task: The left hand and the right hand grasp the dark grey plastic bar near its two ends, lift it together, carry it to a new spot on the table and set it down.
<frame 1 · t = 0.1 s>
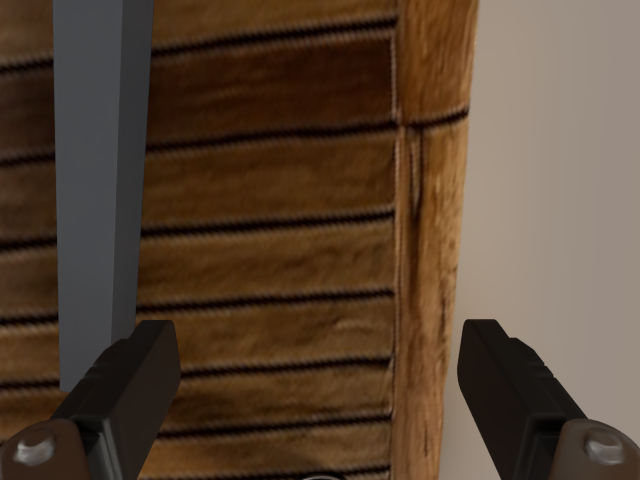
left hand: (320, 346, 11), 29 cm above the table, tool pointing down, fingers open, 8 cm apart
bar: (123, 27, 35), on the table
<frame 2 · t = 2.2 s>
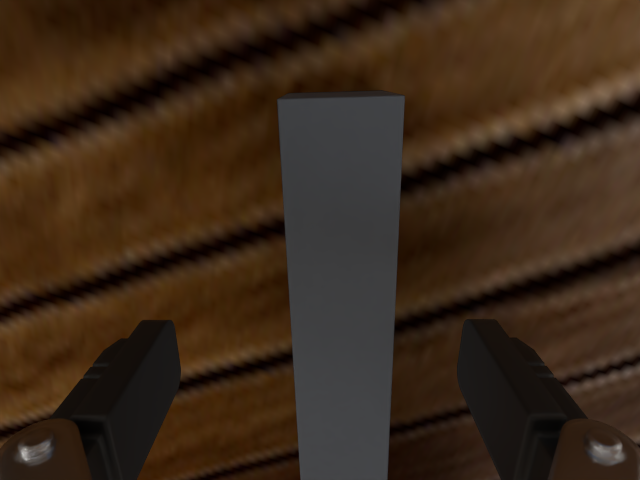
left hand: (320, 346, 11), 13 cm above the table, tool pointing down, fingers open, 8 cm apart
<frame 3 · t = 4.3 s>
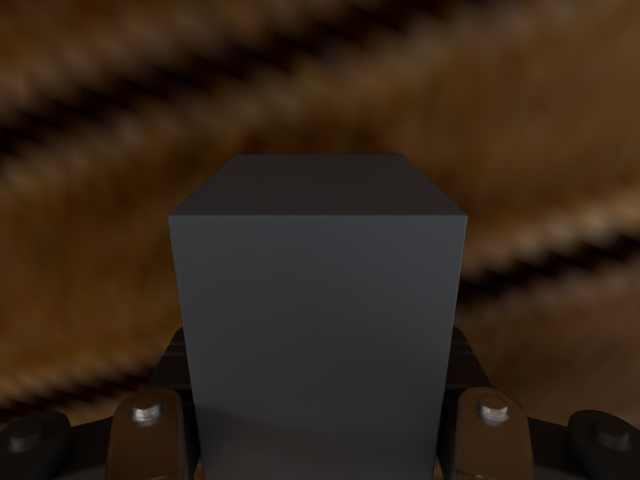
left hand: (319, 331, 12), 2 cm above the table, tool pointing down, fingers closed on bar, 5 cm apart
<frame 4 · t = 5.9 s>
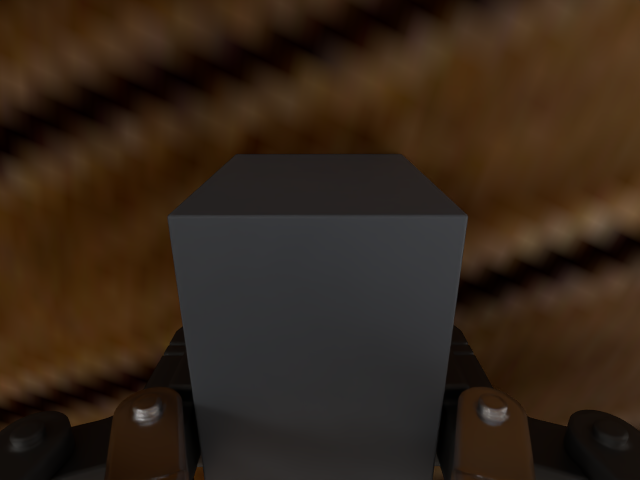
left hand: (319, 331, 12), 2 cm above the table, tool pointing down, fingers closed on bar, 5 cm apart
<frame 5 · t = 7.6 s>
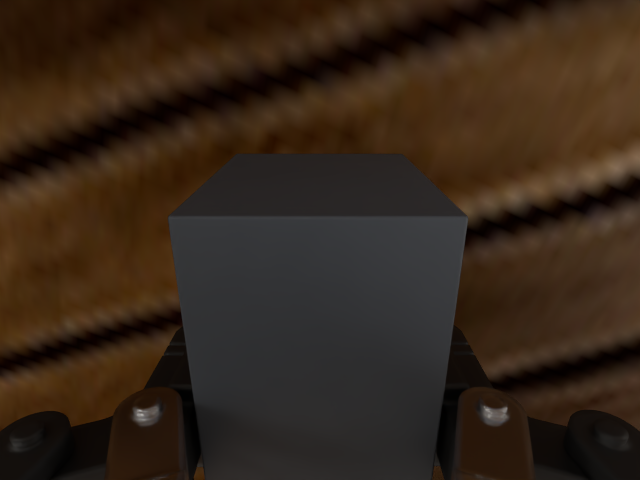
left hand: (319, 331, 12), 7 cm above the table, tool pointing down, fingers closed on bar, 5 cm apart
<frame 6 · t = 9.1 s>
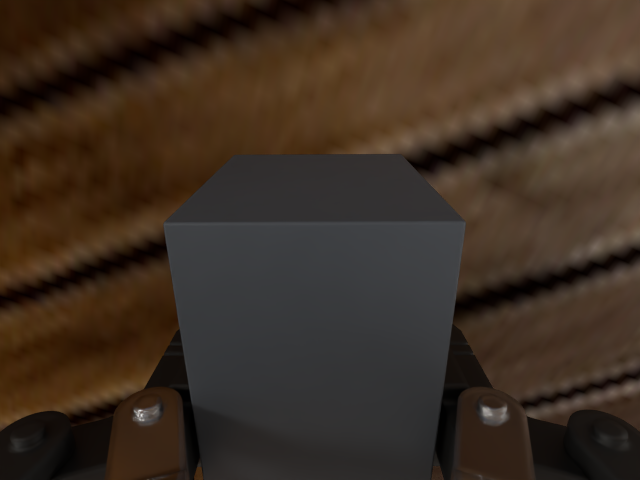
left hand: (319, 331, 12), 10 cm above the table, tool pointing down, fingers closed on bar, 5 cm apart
when the right hand's fingers open (1 cm above the table, at t = 10.9 s): bar stays where it is, on the table.
when the left hand's fingers open (3 cm above the table, at t = 11.1 s): bar stays where it is, on the table.
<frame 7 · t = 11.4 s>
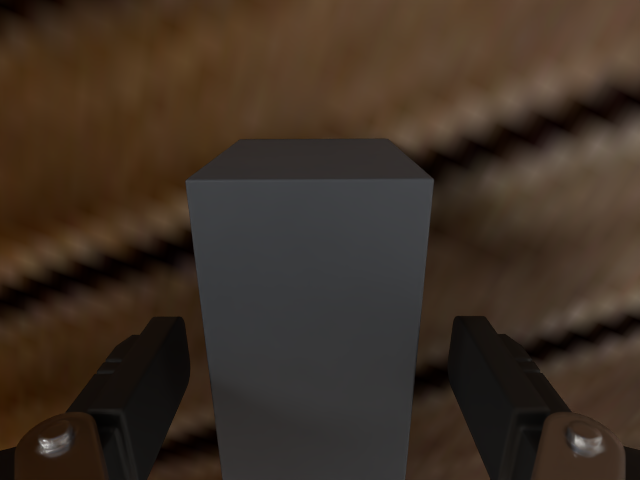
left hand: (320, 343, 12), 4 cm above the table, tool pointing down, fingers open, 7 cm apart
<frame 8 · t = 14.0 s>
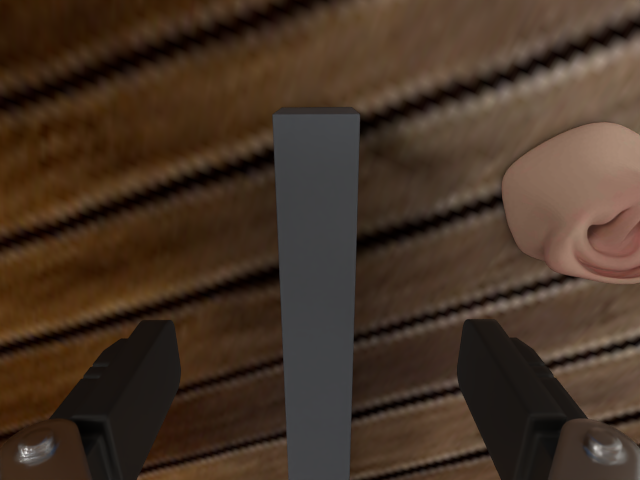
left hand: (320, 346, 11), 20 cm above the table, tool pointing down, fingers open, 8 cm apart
bar: (319, 474, 41), on the table
anatomical model: (589, 203, 31), on the table
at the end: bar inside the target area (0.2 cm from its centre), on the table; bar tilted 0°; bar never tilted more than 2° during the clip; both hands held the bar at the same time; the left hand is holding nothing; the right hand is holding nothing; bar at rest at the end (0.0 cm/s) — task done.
